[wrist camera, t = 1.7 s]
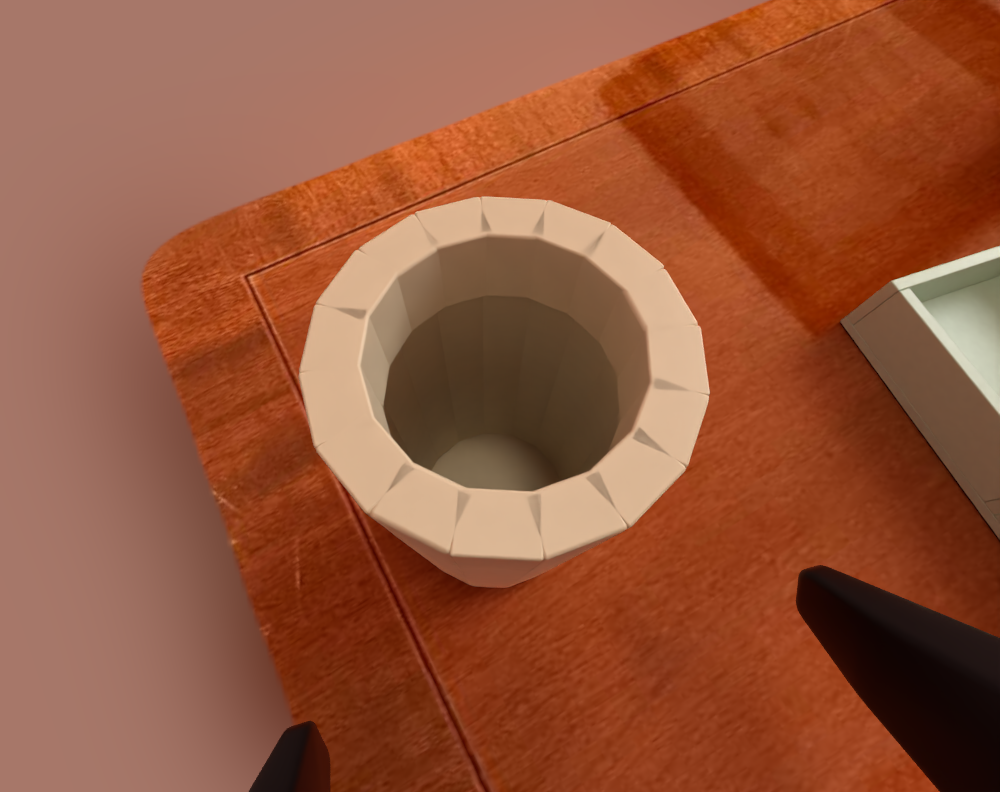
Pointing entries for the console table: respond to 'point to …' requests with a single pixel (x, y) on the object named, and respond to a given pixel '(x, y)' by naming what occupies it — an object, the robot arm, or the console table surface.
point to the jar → (503, 384)
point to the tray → (944, 364)
